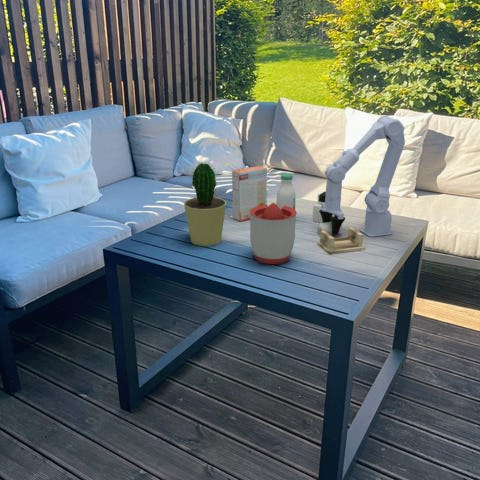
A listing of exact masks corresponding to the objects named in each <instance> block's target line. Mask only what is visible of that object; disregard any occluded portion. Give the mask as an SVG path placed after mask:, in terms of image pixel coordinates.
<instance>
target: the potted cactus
mask: <svg viewBox="0 0 480 480" xmlns="http://www.w3.org/2000/svg"><path fill="white" fill-rule="evenodd" d="M191 173H192V175H191V179H192V180H191V187H192V188H193V189H194V192H195V194H194V197H193V198H189V199H187V200H185V201H184V202H183V205H184V211H185V212H184V213H185V216H186V222H187V226H188V232H189V237H190V241H191V243H192V244H193V245H196V246H200V247H210V246H215V245H218V244H220V243H221V241H222V236H223V229H224V222H225V221H224V220H225V215H226V208H227V207H226V206H227V201H226V200H225V199H223V198H221V197H216V196H214V195H216V188H217V182H218V181H219V180H216V174H217V173H216V171H215V170H214V167H213V166H212V165H211V162H209V163H207V162H205V163H202V162H199V163H198V164H197V165H196V166H195V168H193V171H192V172H191Z"/></svg>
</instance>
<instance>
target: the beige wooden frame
mask: <svg viewBox="0 0 480 480" xmlns="http://www.w3.org/2000/svg"><path fill="white" fill-rule="evenodd" d="M319 238H320V239H319V240H318V241H317V242H316V245H318V246H319V247H320V248H321V249H322V250H323V251H324V252H326V253H327V254H328V255H335V254H336V255H337V254H343V253H345V254H346V253H351V252H359V251H365V250H366V247H365V246H364V245H363V242H364V233H362V232H361V231H358V230H357V229H355V228H354V227H353V226H352V227H348V234H347V236H340V237H333V235H329V234H328V233H327V232H325V231H321V234H320V235H319Z"/></svg>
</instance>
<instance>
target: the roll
mask: <svg viewBox="0 0 480 480" xmlns="http://www.w3.org/2000/svg"><path fill="white" fill-rule="evenodd" d="M343 229H344V228H343V224H342V225H341V227H340V230H339V233H338V234H337V235H340V234H342V233H343ZM321 231H325V232H327V233H328V234H329V235H331V236H334V235H333V234H332V225H331V222H327V223H319V222H318V225H317V232H318V235H319V236H320V234H321Z"/></svg>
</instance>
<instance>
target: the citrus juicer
mask: <svg viewBox="0 0 480 480" xmlns="http://www.w3.org/2000/svg"><path fill="white" fill-rule="evenodd" d="M297 212H298V211H296V209H295V210H294V209H293V208H291V207H288V206H283V207H282V208H281V209H280V208H279V207H278V206H277V205H276V202H272V203H270V204H269V205H268V204H267V205H261V206H256V207H254V208H252V209H251V210H250V219H249V221H250V222H249V224H250V227H249V228H250V230H249V234H250V235H249V236H250V237H249V239H250V246H251V249H252V254H253V256H254V257H255V259H256V261H258V262H259V263H263V264H266V265H267V264H269V265H277V264H280V265H281V264H283V263H285V262H287V261H288V260H289V258H290V256H291V255H292V251H293V248H294V244H295V239H296V238H295V237H296V215H297V214H298V213H297Z"/></svg>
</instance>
